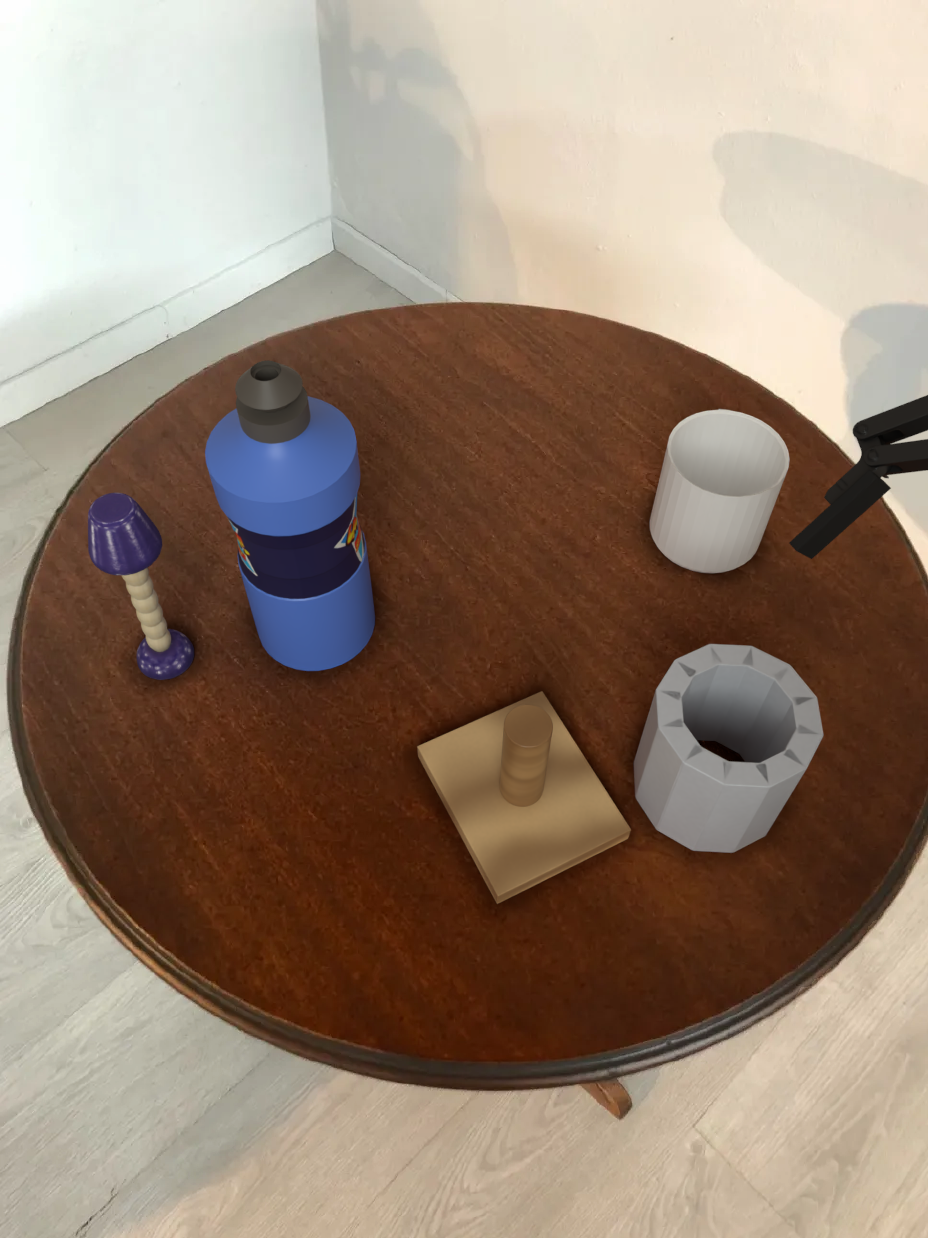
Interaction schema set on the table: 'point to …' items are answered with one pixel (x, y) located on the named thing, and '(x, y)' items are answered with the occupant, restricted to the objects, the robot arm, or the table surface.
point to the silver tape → (740, 720)
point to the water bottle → (294, 518)
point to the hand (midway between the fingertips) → (868, 629)
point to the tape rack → (522, 795)
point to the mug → (717, 490)
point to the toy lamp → (137, 579)
